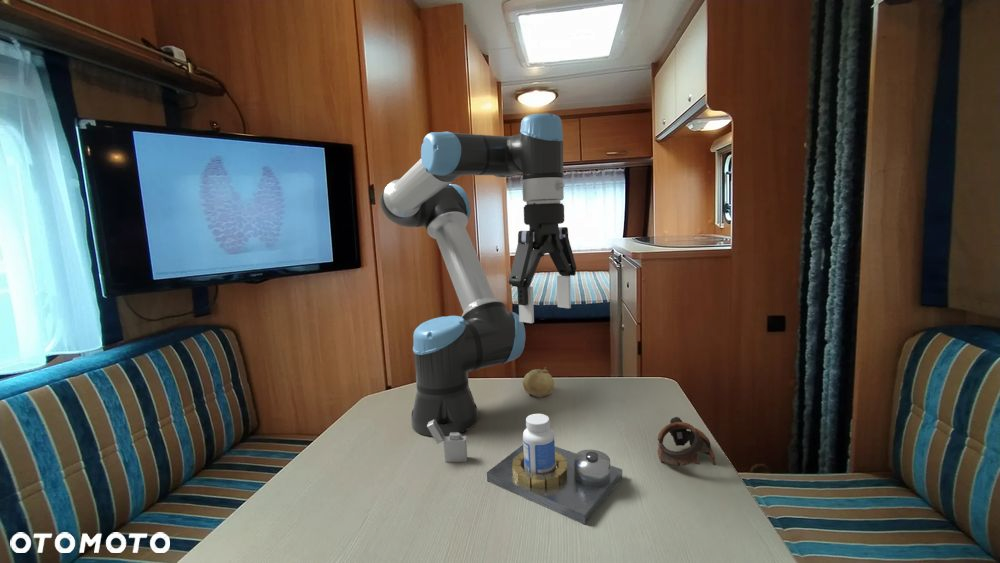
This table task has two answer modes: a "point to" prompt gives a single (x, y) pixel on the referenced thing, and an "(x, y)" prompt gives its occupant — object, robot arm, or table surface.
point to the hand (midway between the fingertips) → (546, 314)
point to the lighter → (450, 443)
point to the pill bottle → (538, 445)
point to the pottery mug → (681, 437)
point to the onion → (538, 383)
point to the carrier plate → (561, 481)
